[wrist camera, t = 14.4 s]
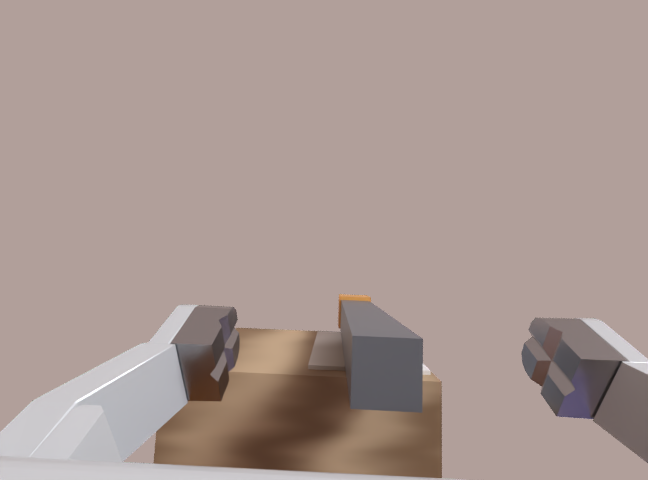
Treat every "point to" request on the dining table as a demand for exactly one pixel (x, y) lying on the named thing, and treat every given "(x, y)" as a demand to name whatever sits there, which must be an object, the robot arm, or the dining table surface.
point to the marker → (379, 358)
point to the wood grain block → (302, 416)
